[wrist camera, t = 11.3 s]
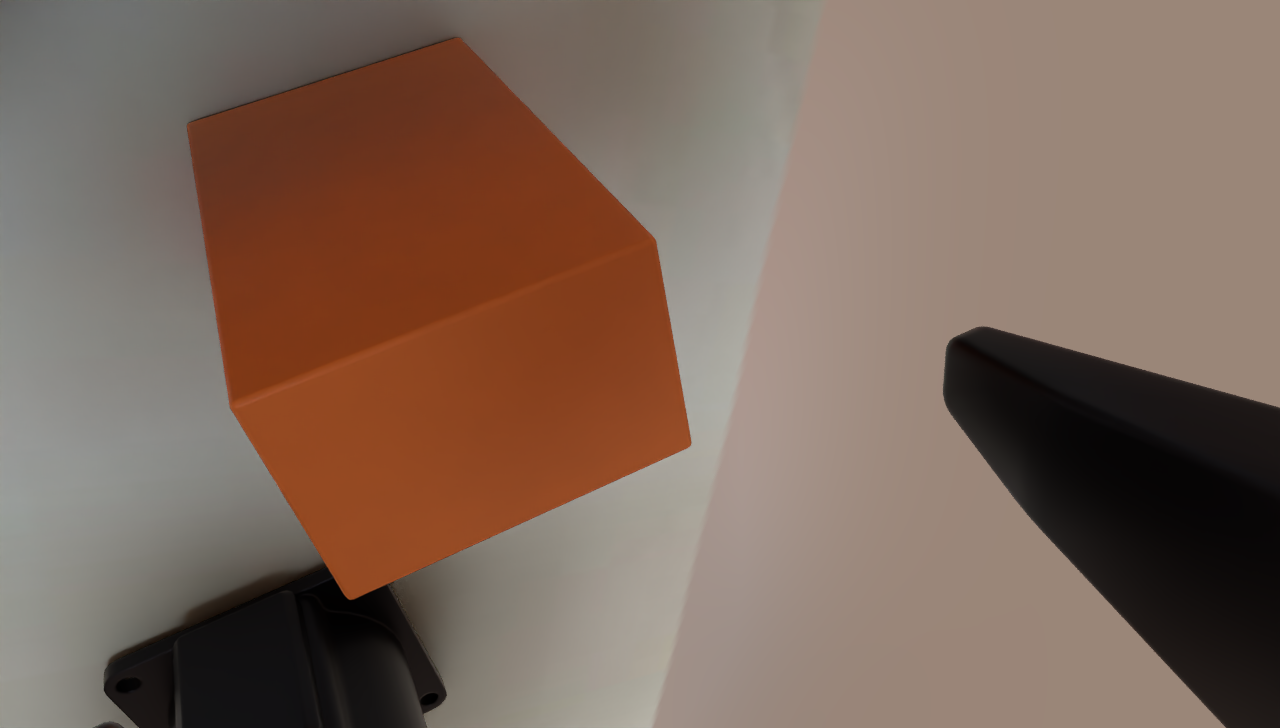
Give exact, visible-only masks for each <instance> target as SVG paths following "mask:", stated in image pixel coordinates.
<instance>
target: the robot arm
mask: <svg viewBox="0 0 1280 728" xmlns="http://www.w3.org/2000/svg"><path fill="white" fill-rule="evenodd" d="M943 396H944V401H945V404H946V406H947V408H948V410H949V412H950V413H951V415H952V416H953V418H954V419H955V420H956V422H957V423H958V424H959V426H960V427H961V428H962V430H964V432H965V433H966V435H967V436H968V438H969V439H970V440H971V441H972V443H973V444H974V445H975V447H976V448H977V449H978V451H979V452H980V453H981V455H982V456H983V457H984V459H985V460H986V461H987V463H988V464H989V465H990V467H991V468H992V469H993V471H994V472H995V473H996V474H997V476H998V477H999V479H1000V480H1001V481H1002V483H1003V484H1004V485H1005V487H1006V488H1007V489H1008V491H1009V492H1010V493H1011V495H1012V496H1013V497H1014V499H1015V500H1016V501H1017V502H1018V504H1019V505H1020V506H1021V507H1022V508H1023V510H1024V511H1025V512H1026V513H1027V515H1028V516H1029V517H1030V518H1031V519H1032V520H1033V521H1034V522H1035V524H1036V525H1037V526H1038V527H1039V528H1040V529H1041V530H1042V531H1043V533H1045V535H1046V536H1047V537H1048V538H1049V539H1050V540H1051V541H1052V542H1053V543H1054V544H1055V545H1056V547H1057V548H1058V549H1060V551H1061V552H1062V553H1063V554H1064V555H1065V556H1066V557H1067V558H1068V559H1069V560H1070V561H1071V563H1072V564H1073V565H1074V566H1075V567H1076V568H1077V569H1078V570H1079V571H1080V572H1081V573H1082V574H1083V575H1084V576H1085V578H1087V580H1088V581H1089V582H1090V583H1091V584H1092V585H1093V586H1094V587H1095V588H1096V589H1097V590H1098V591H1099V592H1100V593H1101V595H1103V597H1104V598H1105V599H1106V600H1107V601H1108V602H1109V603H1110V604H1111V605H1112V606H1113V607H1114V608H1115V610H1117V612H1118V613H1119V614H1120V615H1121V616H1122V617H1123V618H1124V619H1125V620H1126V621H1127V622H1128V623H1129V625H1130V626H1131V627H1132V628H1133V629H1134V630H1135V631H1136V632H1137V633H1138V634H1139V635H1140V636H1141V637H1142V638H1143V639H1144V641H1145V642H1146V643H1147V644H1148V645H1149V646H1150V647H1151V648H1152V649H1153V650H1154V651H1155V652H1156V653H1157V654H1158V656H1159V657H1161V659H1162V660H1163V661H1164V662H1165V663H1166V664H1167V665H1168V666H1169V667H1170V668H1171V669H1172V670H1173V672H1174V673H1175V674H1176V675H1177V676H1178V677H1179V678H1180V679H1181V680H1182V681H1183V682H1184V683H1185V684H1186V685H1187V686H1188V687H1189V689H1190V690H1191V691H1192V692H1193V693H1194V694H1195V695H1196V696H1197V697H1198V698H1199V699H1200V700H1201V701H1202V703H1203V704H1204V705H1205V706H1206V707H1207V708H1208V709H1209V710H1210V711H1211V712H1212V713H1213V714H1214V715H1215V716H1216V717H1217V719H1218V720H1220V722H1221V723H1222V724H1223V725H1224V726H1225V727H1226V728H1280V408H1279V407H1276V406H1272V405H1268V404H1265V403H1261V402H1257V401H1254V400H1250V399H1247V398H1243V397H1239V396H1236V395H1232V394H1228V393H1225V392H1221V391H1218V390H1214V389H1211V388H1207V387H1203V386H1200V385H1196V384H1193V383H1189V382H1185V381H1182V380H1178V379H1174V378H1171V377H1167V376H1164V375H1159V374H1156V373H1153V372H1149V371H1146V370H1142V369H1138V368H1134V367H1131V366H1127V365H1124V364H1120V363H1117V362H1113V361H1109V360H1105V359H1102V358H1099V357H1095V356H1091V355H1088V354H1084V353H1080V352H1077V351H1073V350H1070V349H1066V348H1062V347H1059V346H1055V345H1052V344H1048V343H1044V342H1041V341H1037V340H1034V339H1030V338H1026V337H1023V336H1019V335H1016V334H1012V333H1008V332H1005V331H1001V330H998V329H994V328H990V327H976V328H974V329H971V330H969V331H967V332H965V333H963V334H960V335H958V336H956V337H954V338H953V339H951V340H950V341H949V343H948V345H947V347H946V356H945V369H944V384H943ZM128 677H134V678H130V679H124V678H128ZM104 692H105V694H106V695H107V696H108V697H109V698H110V699H111V700H112V701H113V702H114V703H115V704H116V705H117V706H118V707H119V708H120V709H121V710H122V711H123V712H124V713H125V714H126V715H127V716H128V717H129V718H130V719H131V720H132V721H133V722H134V723H135V724H136V725H137V726H138V727H139V728H427V726H426V723H425V719H424V716H423V714H424V713H426V712H428V711H430V710H432V709H434V708H436V707H438V706H439V705H441V704H442V702H443V701H444V700H445V698H446V696H447V694H446V689H445V686H444V683H443V680H442V678H441V676H440V675H439V673H438V671H437V669H436V667H435V666H434V664H433V662H432V660H431V658H430V656H429V655H428V653H427V651H426V649H425V647H424V646H423V644H422V642H421V640H420V638H419V637H418V635H417V633H416V631H415V629H414V627H413V626H412V624H411V622H410V620H409V618H408V617H407V615H406V613H405V611H404V609H403V608H402V606H401V604H400V602H399V600H398V599H397V597H396V595H395V593H394V591H393V589H392V588H391V586H390V584H386V585H384V586H382V587H380V588H378V589H375V590H373V591H371V592H369V593H367V594H364V595H362V596H360V597H358V598H356V599H352V600H349V599H348V598H347V597H346V596H345V595H344V593H343V592H342V590H341V589H340V587H339V585H338V584H337V582H336V580H335V579H334V577H333V575H332V574H331V572H330V571H329V569H328V567H326V568H324V569H321V570H319V571H317V572H315V573H312V574H310V575H308V576H306V577H303V578H301V579H299V580H297V581H294V582H292V583H290V584H287V585H285V586H283V587H281V588H278V589H276V590H274V591H272V592H269V593H267V594H265V595H263V596H260V597H258V598H256V599H253V600H251V601H249V602H247V603H244V604H242V605H240V606H238V607H235V608H233V609H231V610H229V611H226V612H224V613H222V614H219V615H217V616H215V617H213V618H210V619H208V620H206V621H204V622H201V623H199V624H197V625H195V626H192V627H190V628H188V629H185V630H183V631H181V632H179V633H176V634H174V635H172V636H170V637H167V638H165V639H163V640H161V641H158V642H156V643H154V644H152V645H149V646H147V647H145V648H142V649H140V650H138V651H136V652H133V653H131V654H129V655H127V656H124V657H122V658H120V659H118V660H116V661H114V662H113V663H111V664H109V666H108V667H107V668H106V669H105V672H104ZM93 728H124V727H122V726H121V725H120V724H118V723H115V722H111V721H109V722H105V723H102V724H100V725H98V726H95V727H93Z"/></svg>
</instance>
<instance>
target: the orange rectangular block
mask: <svg viewBox="0 0 1280 728" xmlns="http://www.w3.org/2000/svg"><path fill="white" fill-rule="evenodd" d="M187 131H188V138H189V144H190V151H191V157H192V164H193V170H194V177H195V183H196V190H197V196H198V203H199V209H200V216H201V222H202V229H203V235H204V242H205V248H206V255H207V262H208V268H209V275H210V281H211V288H212V294H213V301H214V307H215V314H216V320H217V327H218V333H219V340H220V346H221V353H222V359H223V366H224V372H225V379H226V385H227V392H228V399H229V405H230V409H231V410H232V412H233V413H234V415H235V417H236V418H237V420H238V422H239V423H240V425H241V427H242V428H243V430H244V431H245V433H246V435H247V436H248V438H249V440H250V441H251V443H252V445H253V446H254V448H255V449H256V451H257V453H258V454H259V456H260V458H261V459H262V461H263V463H264V464H265V466H266V467H267V469H268V471H269V472H270V474H271V476H272V477H273V479H274V481H275V482H276V484H277V485H278V487H279V489H280V490H281V492H282V494H283V495H284V497H285V499H286V500H287V502H288V503H289V505H290V507H291V508H292V510H293V512H294V513H295V515H296V517H297V518H298V520H299V521H300V523H301V525H302V526H303V528H304V530H305V531H306V533H307V535H308V536H309V538H310V539H311V541H312V543H313V544H314V546H315V548H316V549H317V551H318V553H319V554H320V556H321V557H322V559H323V561H324V562H325V564H326V566H327V567H328V569H329V571H330V572H331V574H332V575H333V577H334V579H335V580H336V582H337V584H338V585H339V587H340V589H341V590H342V592H343V593H344V595H345V596H346V597H347V598H348V599H349V600H352V599H356V598H358V597H360V596H362V595H364V594H367V593H369V592H371V591H373V590H375V589H378V588H380V587H382V586H384V585H386V584H389V583H391V582H393V581H395V580H397V579H400V578H402V577H404V576H406V575H408V574H411V573H413V572H415V571H417V570H420V569H422V568H424V567H426V566H428V565H431V564H433V563H435V562H437V561H439V560H442V559H444V558H446V557H448V556H450V555H453V554H455V553H457V552H459V551H461V550H464V549H466V548H468V547H470V546H472V545H475V544H477V543H479V542H481V541H483V540H486V539H488V538H490V537H492V536H495V535H497V534H499V533H501V532H503V531H506V530H508V529H510V528H512V527H514V526H517V525H519V524H521V523H523V522H525V521H528V520H530V519H532V518H534V517H536V516H539V515H541V514H543V513H545V512H547V511H550V510H552V509H554V508H556V507H558V506H561V505H563V504H565V503H567V502H570V501H572V500H574V499H576V498H578V497H581V496H583V495H585V494H587V493H589V492H592V491H594V490H596V489H598V488H600V487H603V486H605V485H607V484H609V483H611V482H614V481H616V480H618V479H620V478H622V477H625V476H627V475H629V474H631V473H633V472H636V471H638V470H640V469H642V468H645V467H647V466H649V465H651V464H653V463H656V462H658V461H660V460H662V459H664V458H667V457H669V456H671V455H673V454H675V453H678V452H680V451H682V450H684V449H686V448H688V447H690V446H691V437H690V431H689V425H688V420H687V414H686V408H685V403H684V397H683V391H682V386H681V380H680V374H679V369H678V363H677V357H676V352H675V346H674V340H673V334H672V329H671V323H670V317H669V312H668V306H667V300H666V295H665V289H664V283H663V278H662V272H661V266H660V261H659V255H658V249H657V243H656V240H655V238H654V237H653V236H652V235H651V234H650V233H649V232H648V231H647V230H646V229H645V228H644V227H643V226H642V225H641V224H640V223H639V222H638V221H637V220H636V218H635V217H634V216H633V215H632V214H631V213H630V212H629V211H628V210H627V209H626V208H625V207H624V206H623V205H622V204H621V203H620V202H619V201H618V200H617V199H616V198H615V197H614V196H613V195H612V194H611V193H610V192H609V191H608V190H607V189H606V188H605V187H604V186H603V185H602V183H601V182H600V181H599V180H598V179H597V178H596V177H595V176H594V175H593V174H592V173H591V172H590V171H589V170H588V169H587V168H586V167H585V166H584V165H583V164H582V163H581V162H580V161H579V160H578V159H577V158H576V157H575V156H574V155H573V154H572V153H571V152H570V151H569V150H568V149H567V147H566V146H565V145H564V144H563V143H562V142H561V141H560V140H559V139H558V138H557V137H556V136H555V135H554V134H553V133H552V132H551V131H550V130H549V129H548V128H547V127H546V126H545V125H544V124H543V123H542V122H541V121H540V120H539V119H538V118H537V117H536V116H535V115H534V114H533V113H532V111H531V110H530V109H529V108H528V107H527V106H526V105H525V104H524V103H523V102H522V101H521V100H520V99H519V98H518V97H517V96H516V95H515V94H514V93H513V92H512V91H511V90H510V89H509V88H508V87H507V86H506V85H505V84H504V83H503V82H502V81H501V80H500V79H499V78H498V76H497V75H496V74H495V73H494V72H493V71H492V70H491V69H490V68H489V67H488V66H487V65H486V64H485V63H484V62H483V61H482V60H481V59H480V58H479V57H478V56H477V55H476V54H475V53H474V52H473V51H472V50H471V49H470V48H469V47H468V46H467V45H466V44H465V43H464V42H463V40H462V39H461V38H453V39H450V40H447V41H444V42H441V43H438V44H435V45H432V46H428V47H425V48H422V49H419V50H416V51H413V52H410V53H406V54H403V55H400V56H397V57H394V58H391V59H388V60H385V61H381V62H378V63H375V64H372V65H369V66H366V67H363V68H360V69H356V70H353V71H350V72H347V73H344V74H341V75H338V76H335V77H331V78H328V79H325V80H322V81H319V82H316V83H313V84H309V85H306V86H303V87H300V88H297V89H294V90H291V91H288V92H284V93H281V94H278V95H275V96H272V97H269V98H266V99H263V100H259V101H256V102H253V103H250V104H247V105H244V106H241V107H238V108H234V109H231V110H228V111H225V112H222V113H219V114H216V115H212V116H209V117H206V118H203V119H200V120H197V121H194V122H191V123H189V124H188V125H187Z"/></svg>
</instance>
